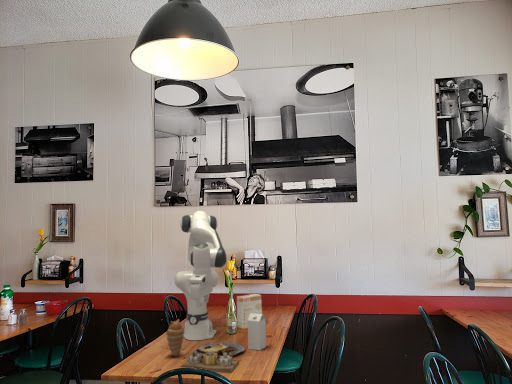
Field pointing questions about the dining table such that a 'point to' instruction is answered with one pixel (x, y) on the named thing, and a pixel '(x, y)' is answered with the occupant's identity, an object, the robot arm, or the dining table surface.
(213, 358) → the brass gear
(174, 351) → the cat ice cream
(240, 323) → the coffeecake box
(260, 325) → the milk carton
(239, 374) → the dining table surface
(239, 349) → the food plate
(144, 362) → the dining table surface
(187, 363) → the gear board
